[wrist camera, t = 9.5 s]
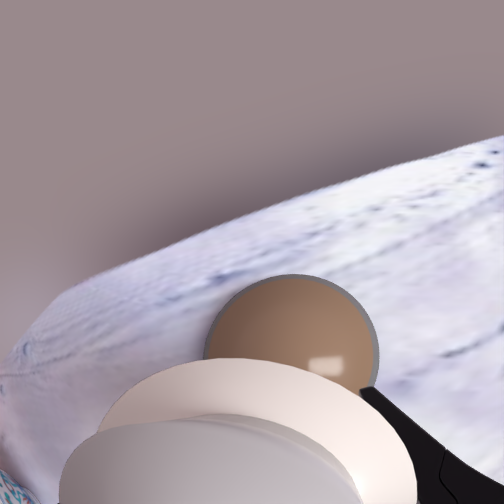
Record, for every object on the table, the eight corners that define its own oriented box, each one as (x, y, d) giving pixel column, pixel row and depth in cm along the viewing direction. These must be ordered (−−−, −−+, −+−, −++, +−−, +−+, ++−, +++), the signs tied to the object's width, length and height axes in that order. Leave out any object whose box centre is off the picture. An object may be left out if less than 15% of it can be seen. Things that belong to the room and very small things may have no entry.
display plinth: (313, 468, 14) (313, 476, 13) (181, 379, 19) (169, 377, 17) (402, 327, 17) (410, 320, 16) (268, 256, 22) (264, 245, 21)
